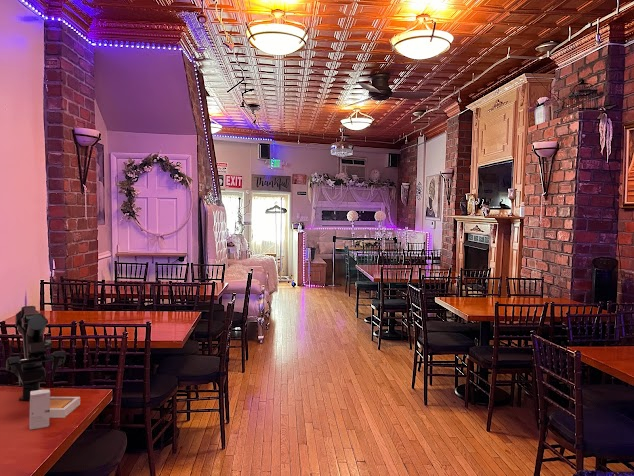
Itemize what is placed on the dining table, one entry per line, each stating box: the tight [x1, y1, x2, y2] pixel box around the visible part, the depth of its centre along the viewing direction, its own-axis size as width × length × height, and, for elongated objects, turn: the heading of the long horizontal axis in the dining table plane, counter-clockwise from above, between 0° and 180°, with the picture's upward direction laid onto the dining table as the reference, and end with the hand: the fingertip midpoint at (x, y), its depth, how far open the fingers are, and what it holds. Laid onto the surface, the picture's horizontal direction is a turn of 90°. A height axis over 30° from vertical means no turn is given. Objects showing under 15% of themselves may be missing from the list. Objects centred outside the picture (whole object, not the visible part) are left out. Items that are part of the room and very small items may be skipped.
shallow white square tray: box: [49, 396, 81, 419], centre depth 176 cm, size 12×12×3 cm
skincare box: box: [28, 388, 51, 430], centre depth 163 cm, size 6×4×12 cm
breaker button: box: [50, 400, 71, 408], centre depth 176 cm, size 8×8×1 cm
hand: (38, 381), depth 169 cm, fingers open, 9 cm apart
